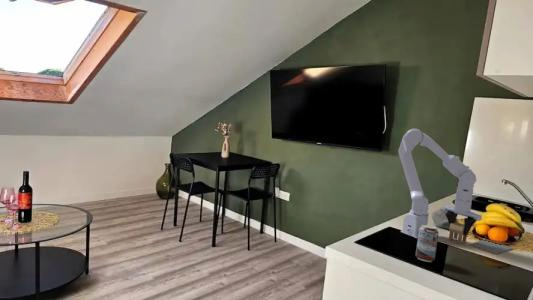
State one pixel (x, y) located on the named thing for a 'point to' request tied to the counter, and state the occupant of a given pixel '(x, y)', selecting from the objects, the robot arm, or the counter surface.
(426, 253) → the beverage can
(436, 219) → the stone
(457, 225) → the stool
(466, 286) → the counter surface
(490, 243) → the mat
